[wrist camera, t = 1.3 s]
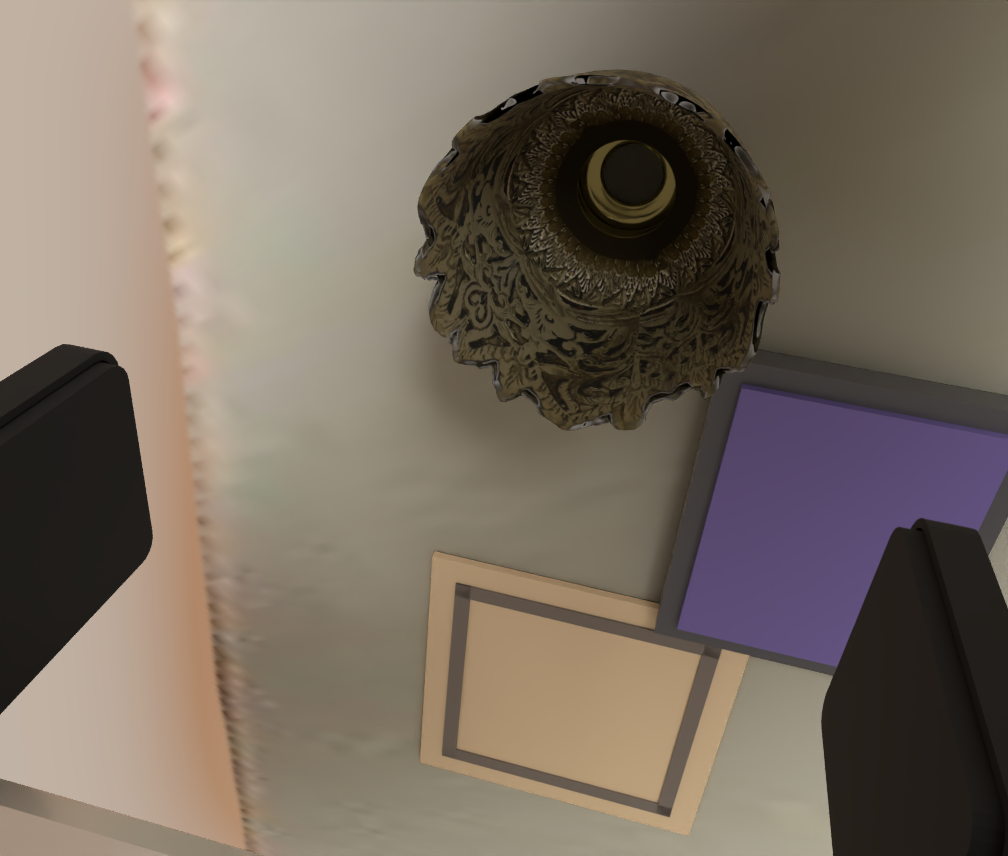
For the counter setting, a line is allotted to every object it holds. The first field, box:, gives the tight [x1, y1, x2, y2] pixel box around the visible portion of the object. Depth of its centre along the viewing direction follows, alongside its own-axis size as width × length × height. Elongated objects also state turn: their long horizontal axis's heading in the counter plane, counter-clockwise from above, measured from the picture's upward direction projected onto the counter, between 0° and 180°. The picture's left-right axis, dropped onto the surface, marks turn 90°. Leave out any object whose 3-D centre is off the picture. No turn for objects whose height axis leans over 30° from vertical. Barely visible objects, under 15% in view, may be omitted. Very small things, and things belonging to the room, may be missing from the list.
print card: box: [420, 551, 749, 836], centre depth 35 cm, size 12×12×1 cm
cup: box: [414, 70, 780, 430], centre depth 21 cm, size 8×7×8 cm
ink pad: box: [654, 350, 1008, 676], centre depth 28 cm, size 11×9×1 cm
